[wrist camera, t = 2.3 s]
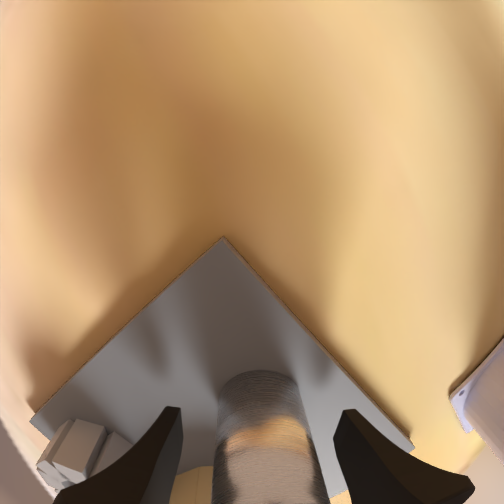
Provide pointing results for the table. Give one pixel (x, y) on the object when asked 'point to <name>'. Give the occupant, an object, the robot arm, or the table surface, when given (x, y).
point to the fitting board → (197, 378)
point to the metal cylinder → (264, 444)
